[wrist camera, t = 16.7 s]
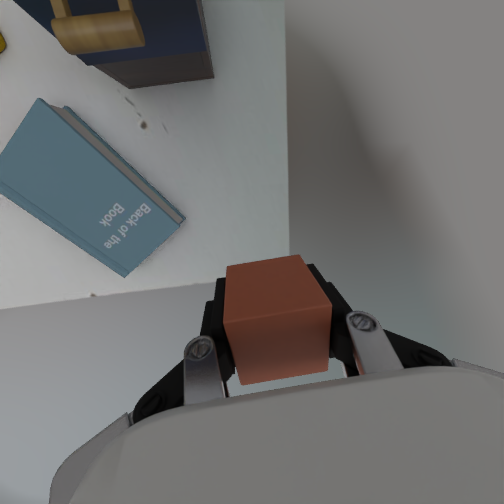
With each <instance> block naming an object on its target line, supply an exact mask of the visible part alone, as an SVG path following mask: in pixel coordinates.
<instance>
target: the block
mask: <svg viewBox="0 0 504 504" xmlns="http://www.w3.org/2000/svg"><path fill="white" fill-rule="evenodd" d="M331 315H332V304H331V302H330V301H329V299H328V298H327V296H326V294H325V293H324V291H323V290H322V288H321V287H320V285H319V284H318V282H317V281H316V279H315V278H314V276H313V275H312V273H311V272H310V270H309V269H308V267H307V265H306V264H305V263H304V261H303V259H302V258H301V256H300V255H292V256H286V257H280V258H274V259H267V260H261V261H255V262H249V263H243V264H237V265H231V266H227V270H226V286H225V301H224V316H223V324H224V328H225V331H226V335H227V338H228V342H229V345H230V349H231V352H232V355H233V359H234V362H235V366H236V369H237V372H238V376H239V380H240V383H241V385H248V384H254V383H260V382H265V381H271V380H276V379H282V378H289V377H294V376H301V375H306V374H312V373H318V372H324V371H327V370H328V360H329V345H330V330H331Z"/></svg>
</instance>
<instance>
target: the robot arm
mask: <svg viewBox="0 0 504 504" xmlns="http://www.w3.org/2000/svg"><path fill="white" fill-rule="evenodd" d="M307 267H308V269H309V270H310V272H311V273H312V275H313V276H314V278H315V279H316V281H317V282H318V284H319V285H320V287H321V288H322V290H323V291H324V293H325V294H326V296H327V298H328V299H329V301H330V302H331V304H332V315H331V330H330V345H329V358H334V357H335V358H336V359H338V360H340V361H341V366H342V370H343V373H344V377H345V378H341V379H335V380H329V381H323V382H317V383H310V384H304V385H298V386H292V387H286V388H281V389H274V390H268V391H263V392H257V393H251V394H245V395H239V396H234V397H230V393H229V388H228V384H227V381H228V380H229V378H230V377H231V376H232V374H235V367H236V366H235V362H234V359H233V355H232V352H231V349H230V345H229V342H228V338H227V335H226V331H225V328H224V324H223V316H224V301H225V286H226V277H224V278H218V279H217V281H216V289H215V297H214V300H212V301H207V302H206V306H205V311H204V316H203V321H202V327H201V332H200V336H198V337H196V338H194V339H193V340H191V341H190V342H189V343H188V344H187V346H186V348H185V350H184V359H183V360H182V361H181V362H180V363H179V364H178V365H176V366H175V367H174V368H173V369H172V370H171V371H170V372H169V373H167V375H165V376H164V377H163V378H162V379H161V380H160V381H159V382H157V384H155V385H154V386H153V387H152V388H151V389H150V390H149V391H147V392H146V393H145V394H144V395H143V396H142V397H141V398H140V400H139V401H138V403H137V404H136V406H135V408H134V410H133V411H132V412H131V413H129V414H128V413H127V412H126V413H125V414H124V415H122V416H121V417H120V418H118V419H117V420H116V421H114V422H113V423H112V424H110V425H109V426H108V427H106V428H105V429H104V430H102V431H101V432H100V433H98V434H97V435H96V436H94V437H93V438H92V439H91V440H89V441H88V442H87V443H85V444H84V445H82V446H81V447H80V448H78V449H77V450H76V451H74V452H73V453H72V454H71V455H70V456H69V457H68V458H67V459H66V460H65V461H64V462H63V464H62V465H61V466H60V467H59V469H58V470H57V472H56V474H55V476H54V478H53V480H52V484H51V488H50V498H49V504H504V373H501V372H497V371H494V370H491V369H487V368H484V367H481V366H477V365H474V364H471V363H467V362H464V361H461V360H458V359H454V358H453V359H452V361H451V360H448V359H447V358H446V357H445V356H444V355H443V354H442V353H440V352H438V351H437V350H435V349H433V348H431V347H428V346H426V345H423V344H420V343H418V342H415V341H413V340H410V339H408V338H405V337H403V336H400V335H397V334H395V333H392V332H390V331H387V330H384V329H382V327H381V325H380V323H379V321H378V320H377V319H376V318H375V317H374V316H372V315H371V314H369V313H366V312H363V311H353V310H352V309H351V308H350V306H349V305H348V304H347V302H346V301H345V300H344V298H343V297H342V296H341V294H340V293H339V292H338V290H337V289H336V288H335V286H334V285H333V284H332V283H331V282H326V281H325V279H324V278H323V276H322V275H321V274H320V272H319V271H318V270H317V268H316V267H315V266H314V264H307Z"/></svg>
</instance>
